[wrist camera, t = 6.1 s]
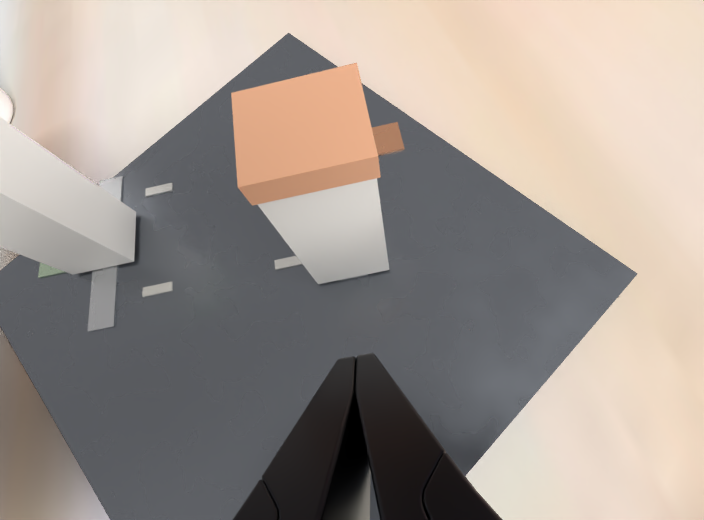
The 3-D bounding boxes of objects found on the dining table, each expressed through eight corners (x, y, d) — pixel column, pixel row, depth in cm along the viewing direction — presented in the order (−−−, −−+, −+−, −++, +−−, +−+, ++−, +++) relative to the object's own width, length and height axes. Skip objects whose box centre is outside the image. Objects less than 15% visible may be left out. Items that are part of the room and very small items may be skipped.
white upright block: (135, 263, 20) (-63, 161, 12) (70, 276, 21) (-171, 187, 12) (137, 209, 22) (-42, 82, 13) (76, 223, 22) (-141, 107, 13)
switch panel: (631, 277, 18) (638, 272, 17) (243, 731, 14) (236, 745, 13) (287, 37, 26) (284, 29, 25) (-15, 286, 22) (-26, 283, 22)
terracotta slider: (391, 271, 18) (378, 156, 10) (316, 286, 19) (237, 187, 10) (379, 212, 20) (356, 62, 11) (308, 227, 20) (230, 92, 11)
